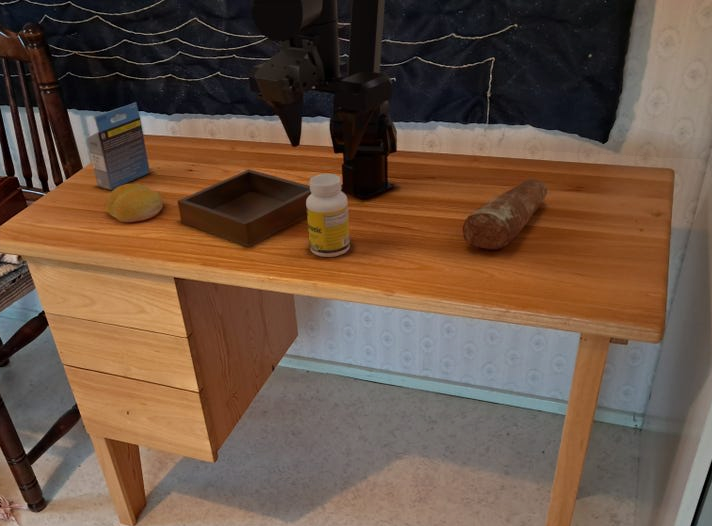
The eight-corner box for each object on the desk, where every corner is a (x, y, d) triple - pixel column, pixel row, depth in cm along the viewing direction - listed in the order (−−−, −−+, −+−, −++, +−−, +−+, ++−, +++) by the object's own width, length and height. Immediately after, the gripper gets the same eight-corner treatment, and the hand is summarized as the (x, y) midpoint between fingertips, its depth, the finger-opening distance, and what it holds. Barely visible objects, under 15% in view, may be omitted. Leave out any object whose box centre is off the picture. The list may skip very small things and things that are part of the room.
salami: (458, 251, 95) (460, 210, 92) (517, 198, 108) (521, 161, 104) (504, 261, 92) (508, 220, 89) (560, 205, 104) (565, 167, 101)
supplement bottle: (304, 245, 100) (298, 175, 95) (342, 237, 102) (338, 168, 96) (317, 261, 96) (311, 190, 91) (356, 253, 97) (353, 182, 92)
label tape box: (137, 169, 130) (121, 98, 123) (152, 173, 128) (137, 101, 121) (97, 186, 125) (78, 113, 118) (112, 191, 123) (94, 116, 116)
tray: (251, 190, 118) (248, 169, 116) (319, 210, 110) (317, 188, 108) (181, 222, 110) (177, 200, 108) (248, 247, 101) (245, 223, 99)
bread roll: (128, 228, 110) (122, 203, 107) (100, 213, 115) (94, 188, 113) (175, 211, 114) (170, 186, 111) (145, 196, 120) (140, 172, 117)
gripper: (207, 29, 86) (226, 159, 95) (328, 43, 75) (337, 188, 84) (273, 10, 92) (285, 133, 102) (394, 20, 82) (395, 157, 91)
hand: (322, 152), depth 94 cm, fingers open, 9 cm apart
